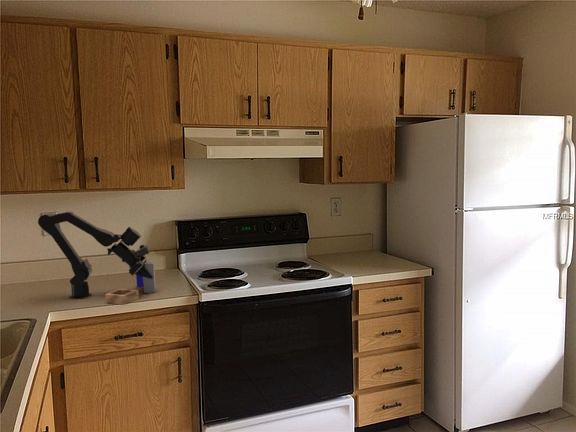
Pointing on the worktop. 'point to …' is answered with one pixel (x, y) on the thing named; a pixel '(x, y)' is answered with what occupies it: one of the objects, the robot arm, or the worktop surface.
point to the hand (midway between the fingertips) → (152, 276)
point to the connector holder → (121, 296)
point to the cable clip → (140, 281)
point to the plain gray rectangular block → (149, 283)
